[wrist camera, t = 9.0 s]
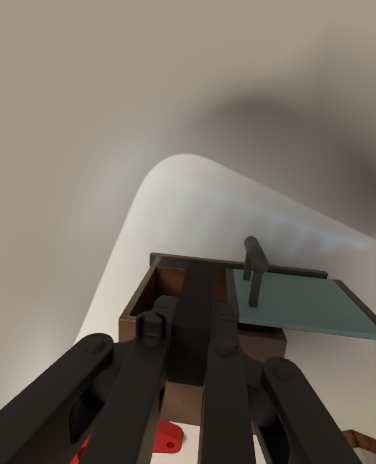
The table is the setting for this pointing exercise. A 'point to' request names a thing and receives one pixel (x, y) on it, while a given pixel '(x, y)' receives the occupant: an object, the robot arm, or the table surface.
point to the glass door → (295, 300)
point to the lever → (164, 442)
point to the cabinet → (170, 282)
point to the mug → (362, 446)
